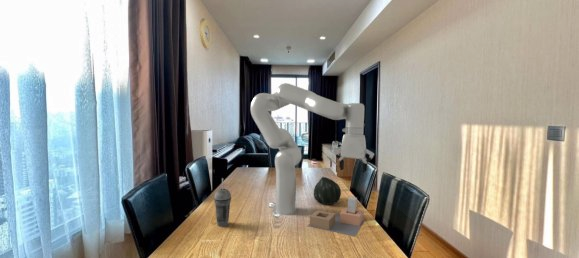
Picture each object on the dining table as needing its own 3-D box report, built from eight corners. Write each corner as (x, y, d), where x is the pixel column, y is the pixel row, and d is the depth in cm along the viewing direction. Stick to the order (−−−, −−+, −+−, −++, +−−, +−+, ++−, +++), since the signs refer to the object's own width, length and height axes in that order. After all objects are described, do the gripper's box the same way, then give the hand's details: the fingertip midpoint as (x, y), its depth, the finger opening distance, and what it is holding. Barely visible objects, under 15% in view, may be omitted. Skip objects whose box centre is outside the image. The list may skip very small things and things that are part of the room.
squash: (349, 192, 148) (333, 170, 152) (338, 201, 135) (321, 176, 140) (331, 205, 154) (316, 183, 159) (319, 214, 142) (303, 190, 146)
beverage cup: (213, 228, 112) (213, 181, 111) (213, 221, 119) (213, 177, 118) (231, 227, 114) (231, 180, 113) (230, 220, 121) (230, 176, 120)
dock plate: (307, 229, 112) (307, 216, 112) (323, 214, 130) (323, 202, 130) (355, 240, 103) (355, 226, 103) (365, 222, 121) (365, 210, 121)
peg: (347, 221, 118) (347, 198, 118) (349, 218, 121) (349, 196, 121) (354, 222, 117) (355, 199, 116) (356, 220, 120) (356, 197, 119)
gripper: (332, 131, 117) (331, 170, 118) (373, 133, 110) (371, 175, 111) (337, 130, 124) (336, 167, 125) (376, 132, 116) (374, 171, 117)
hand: (352, 170), depth 118 cm, fingers open, 9 cm apart
